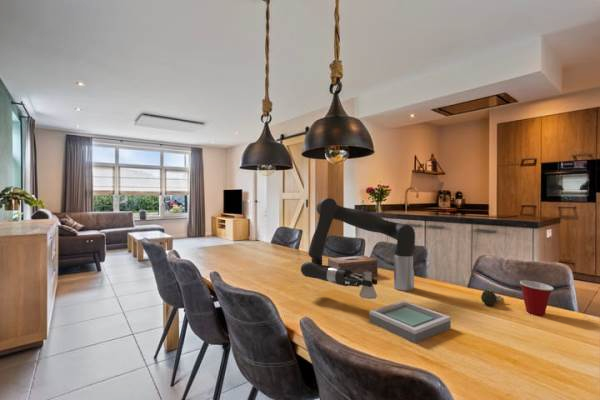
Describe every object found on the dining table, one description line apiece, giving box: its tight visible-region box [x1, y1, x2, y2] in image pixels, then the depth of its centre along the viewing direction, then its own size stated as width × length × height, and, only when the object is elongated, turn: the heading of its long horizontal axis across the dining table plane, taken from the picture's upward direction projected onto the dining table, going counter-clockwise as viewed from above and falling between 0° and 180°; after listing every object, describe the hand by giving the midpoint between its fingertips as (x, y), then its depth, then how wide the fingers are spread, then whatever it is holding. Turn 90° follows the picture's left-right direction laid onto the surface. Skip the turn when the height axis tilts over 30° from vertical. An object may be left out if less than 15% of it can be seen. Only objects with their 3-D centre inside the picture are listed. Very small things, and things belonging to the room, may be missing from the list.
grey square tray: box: [369, 300, 452, 344], centre depth 110 cm, size 20×20×4 cm
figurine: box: [480, 289, 504, 307], centre depth 133 cm, size 8×6×15 cm
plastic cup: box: [519, 280, 554, 317], centre depth 120 cm, size 11×11×12 cm
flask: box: [358, 272, 378, 300], centre depth 123 cm, size 7×7×10 cm
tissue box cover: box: [327, 255, 379, 278], centre depth 181 cm, size 26×14×10 cm, turn 109°
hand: (374, 283), depth 122 cm, fingers closed on flask, 3 cm apart
